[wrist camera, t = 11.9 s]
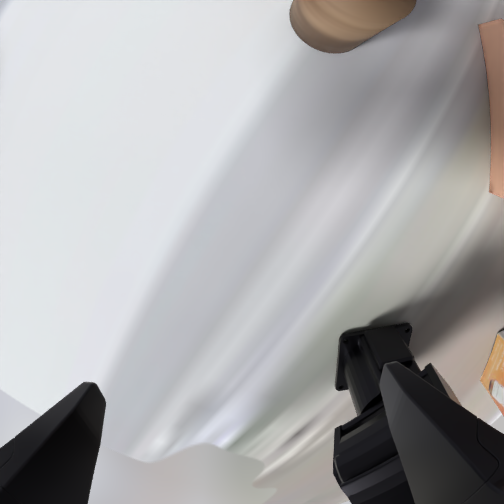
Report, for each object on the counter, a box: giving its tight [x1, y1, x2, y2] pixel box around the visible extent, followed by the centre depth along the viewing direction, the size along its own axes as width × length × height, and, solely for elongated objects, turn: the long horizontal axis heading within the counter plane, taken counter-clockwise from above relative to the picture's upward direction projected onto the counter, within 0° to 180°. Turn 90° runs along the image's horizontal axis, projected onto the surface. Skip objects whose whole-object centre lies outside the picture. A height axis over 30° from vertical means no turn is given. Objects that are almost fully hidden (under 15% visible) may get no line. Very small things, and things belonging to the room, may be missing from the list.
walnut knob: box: [290, 0, 416, 53], centre depth 12 cm, size 5×5×7 cm
